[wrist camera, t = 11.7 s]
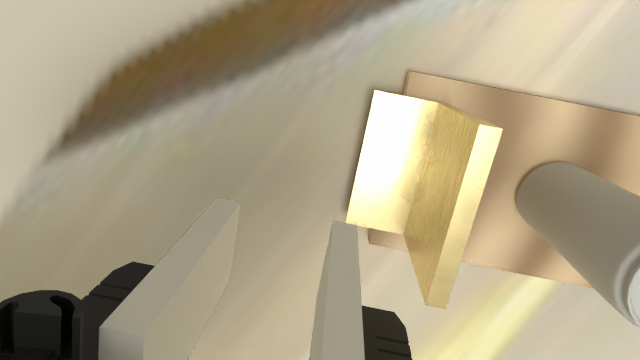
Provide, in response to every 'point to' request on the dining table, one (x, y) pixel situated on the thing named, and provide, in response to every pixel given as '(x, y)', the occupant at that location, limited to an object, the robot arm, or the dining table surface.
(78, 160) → the dining table surface
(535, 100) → the shelf
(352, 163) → the dining table surface
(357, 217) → the bookend
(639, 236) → the beverage can
